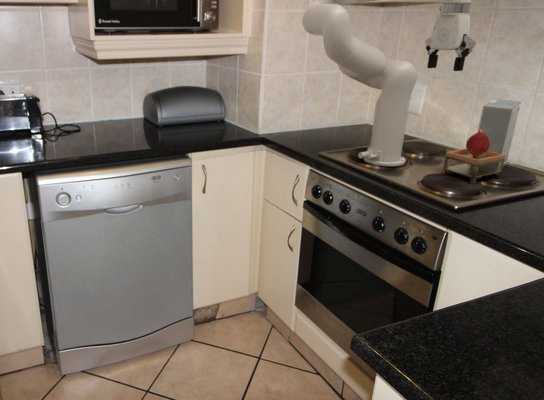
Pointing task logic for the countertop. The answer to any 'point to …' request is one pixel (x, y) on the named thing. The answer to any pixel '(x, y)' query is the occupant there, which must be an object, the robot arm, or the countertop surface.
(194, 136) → the countertop surface
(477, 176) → the rack
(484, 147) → the onion
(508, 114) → the hard drive box
